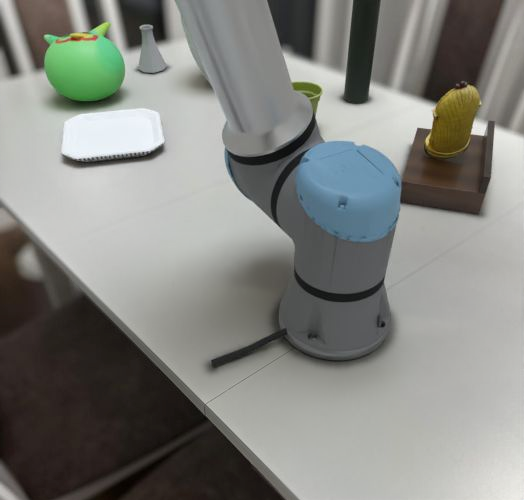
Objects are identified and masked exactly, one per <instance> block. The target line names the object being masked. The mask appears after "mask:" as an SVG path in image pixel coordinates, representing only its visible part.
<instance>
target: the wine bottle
mask: <svg viewBox="0 0 524 500" xmlns="http://www.w3.org/2000/svg"><path fill="white" fill-rule="evenodd" d="M381 2H382V0H352V8H351V17H350V18H351V19H350V28H349V38H348V39H349V40H348V49H347V59H346V69H345V80H344V89H343V90H344V91H343V100H344V101H345V102H347V103H350V104H363V103H366V102H367V101H368V100H369V96H370V95H369V94H370V87H371V78H372V71H373V63H374V57H375V49H376V41H377V40H376V39H377V32H378V27H379V26H378V25H379V19H380V11H381V4H382V3H381Z"/></svg>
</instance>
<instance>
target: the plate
mask: <svg viewBox="0 0 524 500" xmlns="http://www.w3.org/2000/svg"><path fill="white" fill-rule="evenodd" d="M165 144H166V142H165V137H164V131H163V125H162V119H161V114H160V113H159V112H158V111H155V110H152V109H149V108H146V107H140V108H129V109H119V110H109V111H100V112H89V113H87V112H86V113H79V114H77V115H75V116H73V117H71V118H68V119H67V120H65V121H64V122H63V129H62V137H61V146H60V154H61V156H62V157H65V158H68V159H71V160H74V161H79V162H82V163H83V162H84V163H93V162H103V161H111V160H120V159H129V158H139V157H145V156H146V155H148V154H150V153H153V152H154V151H156V150H157V149H159V148H161V147H163V146H164V145H165Z"/></svg>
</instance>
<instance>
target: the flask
mask: <svg viewBox="0 0 524 500" xmlns="http://www.w3.org/2000/svg"><path fill="white" fill-rule="evenodd" d="M153 29H154V26H153V25H151V24H142V25H140V26H139V30H140V31H141V33H140V34H141V46H140V47H141V48H140V53H139V61H138V66H137V70H139V71H141V72H142V73H151V74H154V73H158V72H161V71H164V70H165V69H166V68H167V67H168V66H167V64H166V62H165V59H164V58H163V56H162V53H161V52H160V49H159V47H158V45H157V43H156V40H155V36H154V32H153Z"/></svg>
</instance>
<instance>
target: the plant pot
mask: <svg viewBox="0 0 524 500" xmlns="http://www.w3.org/2000/svg"><path fill="white" fill-rule="evenodd" d="M291 82H292V86H293V89H294V90H295V91H298V92H300V93H302V94H304V95H306V96H307V97H308V98H309V100H310V101H311V104H312V107H313V111H314V114H315V117H316V116H317V112H318V106H319V102H320V100H321V96H322V95H323V94H324V89H323V87H322V86H321V85H320V84H318V83H315V82H311V81H303V80H302V81H301V80H300V81H299V80H298V81H291ZM316 118H317V117H316Z"/></svg>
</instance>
